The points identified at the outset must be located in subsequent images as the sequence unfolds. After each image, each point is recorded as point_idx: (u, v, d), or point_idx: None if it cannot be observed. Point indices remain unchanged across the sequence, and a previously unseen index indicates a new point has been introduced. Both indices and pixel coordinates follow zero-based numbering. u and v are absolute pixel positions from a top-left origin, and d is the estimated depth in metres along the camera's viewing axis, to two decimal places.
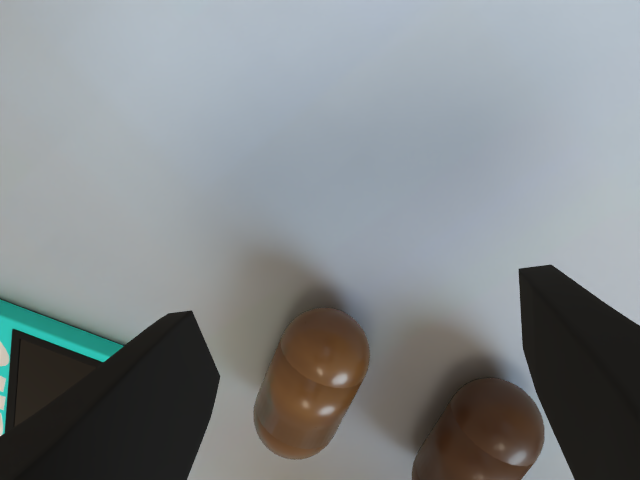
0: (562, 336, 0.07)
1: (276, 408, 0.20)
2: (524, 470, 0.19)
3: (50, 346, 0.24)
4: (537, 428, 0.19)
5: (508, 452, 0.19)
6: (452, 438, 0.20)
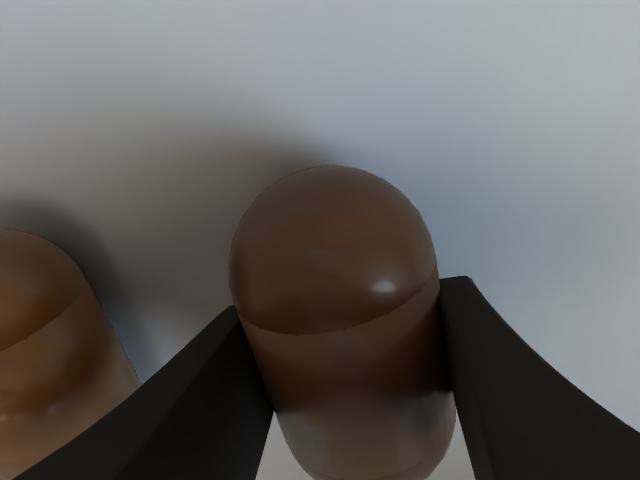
0: (454, 347, 0.08)
1: None
2: (397, 325, 0.08)
3: None
4: (363, 219, 0.08)
5: (315, 309, 0.07)
6: (247, 338, 0.09)
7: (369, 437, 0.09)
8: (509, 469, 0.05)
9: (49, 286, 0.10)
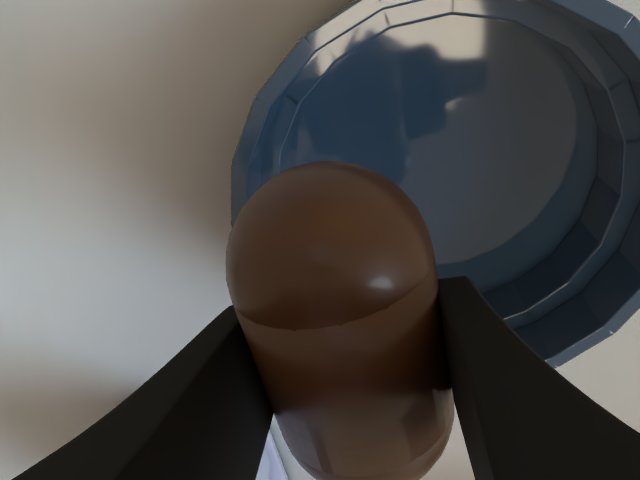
0: (454, 347, 0.08)
1: None
2: (394, 320, 0.08)
3: None
4: (361, 214, 0.08)
5: (312, 303, 0.07)
6: (244, 334, 0.09)
7: (367, 433, 0.09)
8: (508, 469, 0.05)
9: None
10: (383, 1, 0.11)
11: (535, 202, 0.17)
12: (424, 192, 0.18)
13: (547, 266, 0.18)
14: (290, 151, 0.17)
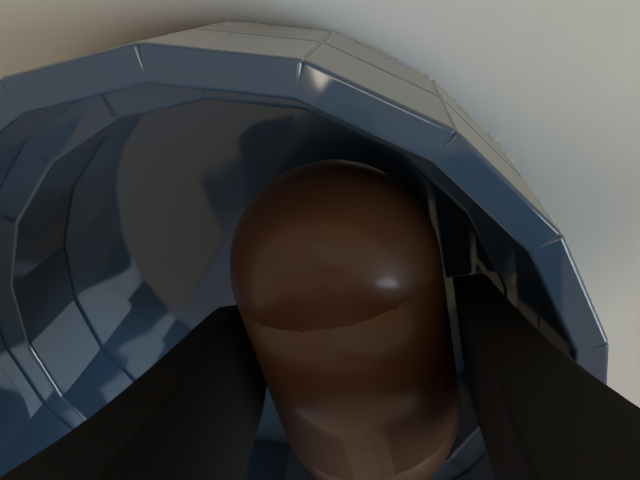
0: (476, 344, 0.07)
1: None
2: (404, 319, 0.08)
3: None
4: (369, 212, 0.07)
5: (321, 304, 0.07)
6: (249, 337, 0.09)
7: (376, 435, 0.08)
8: (546, 467, 0.05)
9: None
10: (19, 100, 0.06)
11: None
12: None
13: None
14: (68, 262, 0.12)
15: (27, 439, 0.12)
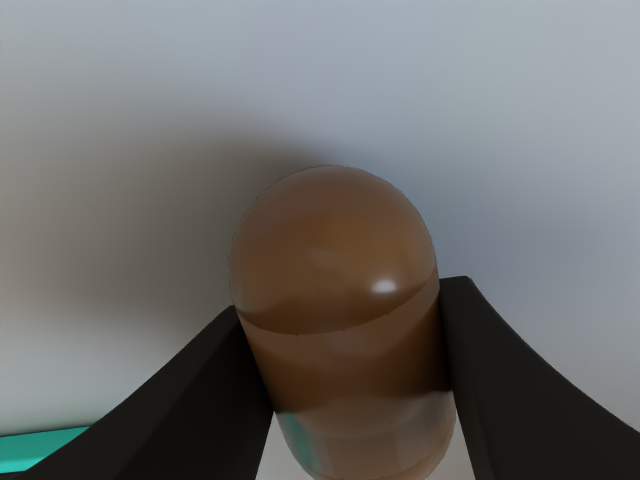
0: (454, 347, 0.08)
1: (297, 424, 0.09)
2: None
3: (1, 478, 0.16)
4: None
5: None
6: None
7: None
8: (509, 469, 0.05)
9: (425, 230, 0.09)
10: None
11: None
12: None
13: None
14: None
15: None
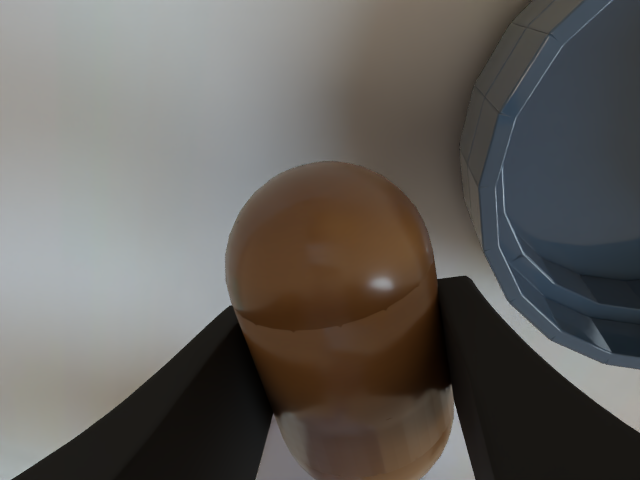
0: (454, 347, 0.08)
1: (294, 421, 0.09)
2: None
3: None
4: None
5: None
6: None
7: None
8: (509, 469, 0.05)
9: (422, 225, 0.09)
10: None
11: None
12: None
13: None
14: None
15: None
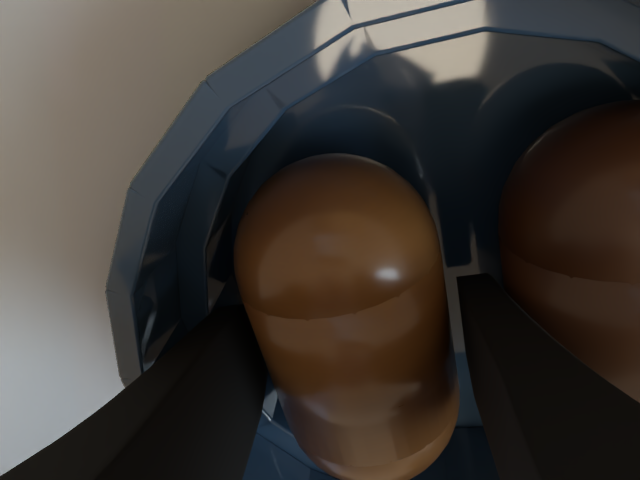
0: (481, 344, 0.07)
1: (306, 412, 0.09)
2: None
3: None
4: None
5: None
6: (566, 311, 0.08)
7: None
8: (554, 467, 0.04)
9: (429, 214, 0.09)
10: (355, 12, 0.06)
11: None
12: None
13: None
14: (233, 231, 0.12)
15: None
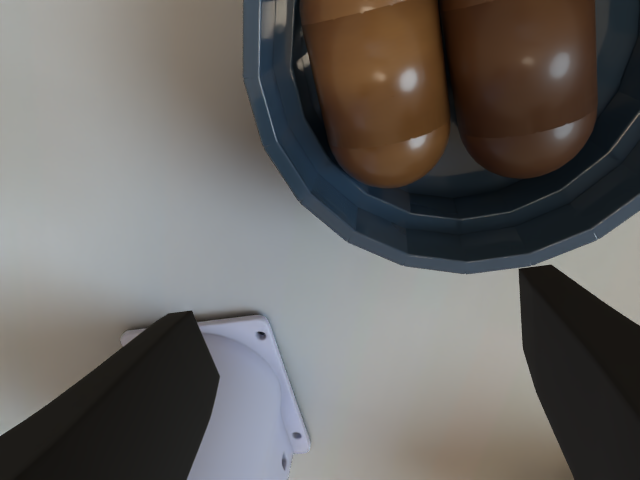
0: (562, 336, 0.07)
1: (334, 105, 0.14)
2: None
3: None
4: None
5: None
6: (449, 36, 0.14)
7: (533, 92, 0.13)
8: None
9: None
10: None
11: None
12: None
13: None
14: None
15: (288, 139, 0.15)
